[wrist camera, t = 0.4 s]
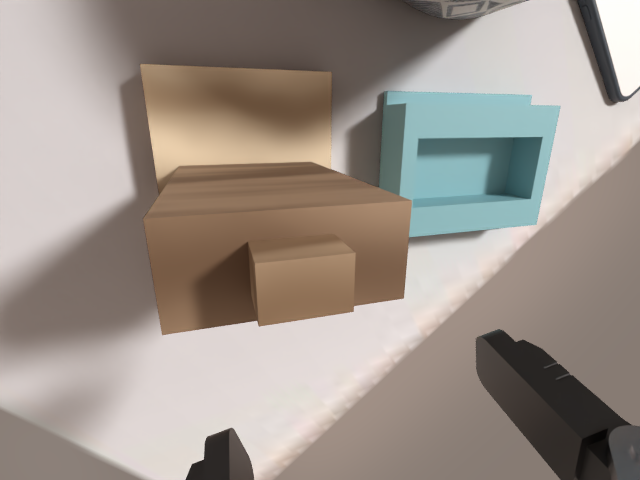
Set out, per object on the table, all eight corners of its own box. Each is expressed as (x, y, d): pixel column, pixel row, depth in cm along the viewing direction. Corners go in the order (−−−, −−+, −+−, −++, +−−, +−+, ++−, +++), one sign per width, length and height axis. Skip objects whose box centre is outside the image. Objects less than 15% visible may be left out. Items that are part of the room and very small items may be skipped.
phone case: (668, 49, 35) (633, -130, 28) (688, 46, 34) (656, -143, 27) (603, 108, 35) (553, -56, 28) (621, 108, 34) (571, -65, 27)
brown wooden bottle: (179, 165, 23) (128, 239, 9) (311, 161, 26) (445, 213, 11) (186, 224, 24) (153, 374, 10) (311, 214, 27) (432, 324, 12)
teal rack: (384, 91, 28) (407, 87, 24) (526, 95, 31) (563, 92, 28) (376, 237, 31) (395, 250, 28) (503, 224, 35) (534, 235, 32)
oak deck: (145, 68, 23) (139, 63, 21) (323, 75, 26) (331, 71, 24) (177, 292, 28) (175, 303, 26) (322, 274, 31) (329, 283, 29)
